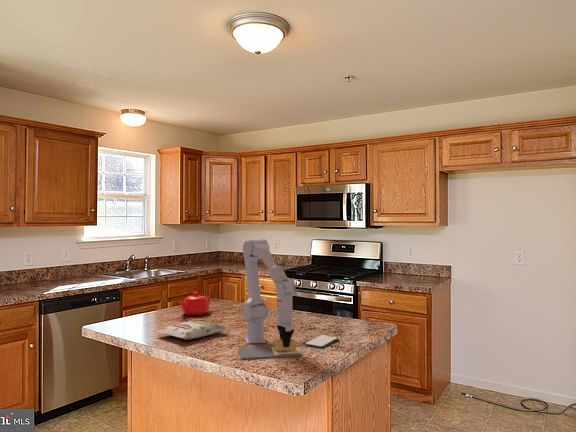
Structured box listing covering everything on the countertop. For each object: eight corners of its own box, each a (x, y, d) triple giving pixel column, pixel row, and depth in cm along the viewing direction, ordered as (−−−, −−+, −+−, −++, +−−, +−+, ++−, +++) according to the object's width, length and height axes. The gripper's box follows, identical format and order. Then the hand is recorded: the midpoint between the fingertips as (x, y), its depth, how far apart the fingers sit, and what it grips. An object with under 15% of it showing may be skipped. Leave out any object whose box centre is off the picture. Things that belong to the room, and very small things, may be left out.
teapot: (199, 309, 251) (199, 288, 251) (219, 311, 243) (219, 290, 243) (167, 316, 230) (168, 294, 230) (188, 320, 222) (188, 297, 222)
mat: (238, 348, 171) (238, 347, 171) (293, 346, 175) (293, 344, 175) (240, 359, 157) (240, 358, 157) (301, 356, 162) (301, 354, 162)
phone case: (322, 350, 171) (339, 340, 185) (322, 346, 171) (339, 337, 185) (303, 347, 176) (321, 337, 190) (303, 343, 176) (321, 334, 190)
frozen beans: (228, 321, 194) (183, 331, 175) (229, 333, 194) (183, 345, 175) (201, 316, 208) (155, 325, 189) (201, 328, 208) (156, 338, 189)
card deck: (293, 346, 171) (293, 338, 171) (295, 349, 166) (296, 341, 166) (273, 346, 169) (273, 339, 169) (275, 350, 164) (276, 342, 164)
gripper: (272, 307, 174) (272, 340, 174) (278, 315, 160) (278, 350, 160) (289, 307, 176) (289, 339, 175) (296, 314, 161) (296, 350, 161)
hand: (285, 345), depth 168 cm, fingers closed on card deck, 5 cm apart
